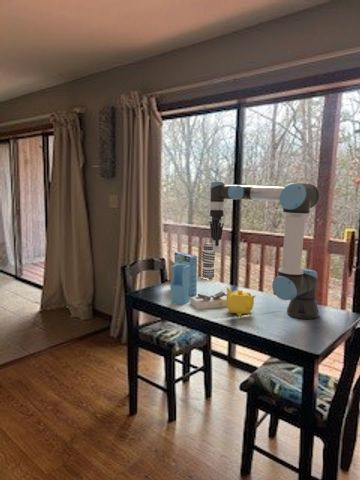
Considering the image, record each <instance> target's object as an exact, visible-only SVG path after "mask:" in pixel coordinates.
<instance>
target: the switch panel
mask: <svg viewBox="0 0 360 480" xmlns="http://www.w3.org/2000/svg"><path fill="white" fill-rule="evenodd" d="M226 294H227V293H225V296H223V297H221V298H219V299H217V300H215V299H213V297H212V296H213V295H214V294H213V295H212V294H211V295H208V296H209V297H211V299H210V300H207V299H203V298H200V297H198V296H193V297H191V296H189V303H190V305H191V306H193V307H194V308H195V309H197V310H203V309H211V308H212V309H214V308H221V307H222V308H224V307H226V304H227V295H226Z"/></svg>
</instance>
